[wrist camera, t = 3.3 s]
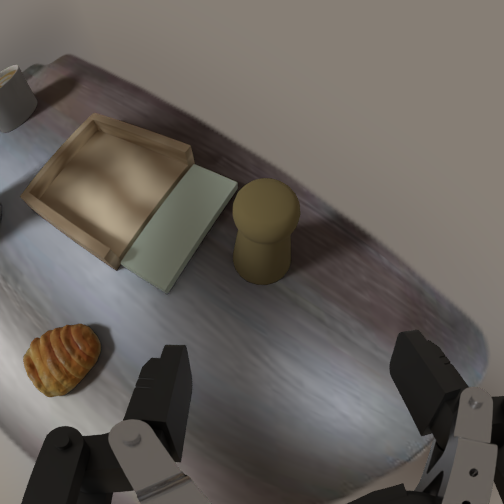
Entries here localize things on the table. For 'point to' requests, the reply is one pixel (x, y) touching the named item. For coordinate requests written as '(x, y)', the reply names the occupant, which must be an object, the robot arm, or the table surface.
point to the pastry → (61, 358)
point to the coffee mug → (14, 99)
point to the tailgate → (179, 227)
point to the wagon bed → (107, 184)
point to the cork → (264, 230)
